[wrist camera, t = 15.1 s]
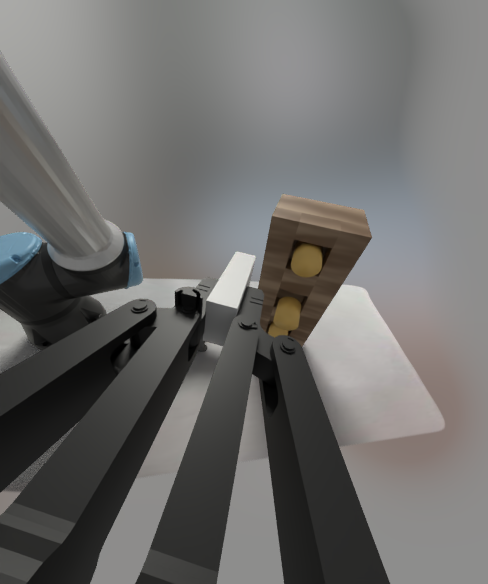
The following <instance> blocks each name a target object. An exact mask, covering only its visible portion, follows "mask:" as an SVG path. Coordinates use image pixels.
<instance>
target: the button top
mask: <svg viewBox="0 0 488 584" xmlns="http://www.w3.org/2000/svg"><path fill="white" fill-rule="evenodd" d="M322 255H323V247H322V246H319V245H315V244H311V243H307V242H302V241H299V242H298V243H297V244H296V246H295V249H294V253H293V257H292V262H291V268H292V270H293V272H294V273H295V274H296V275H298V276H301V277H312V276H315V275H317V274H318V273H319V272H320V270H321V268H322Z"/></svg>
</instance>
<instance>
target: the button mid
mask: <svg viewBox="0 0 488 584" xmlns="http://www.w3.org/2000/svg"><path fill="white" fill-rule="evenodd" d="M300 311H301V303H300V302H299V301H298V300H297V299H295V298H293V297H283V298H281V299H279V301H278V304H277V308H276V312H275V316H274V320H273V322H274V324H275V325H276V326H277V327H278V328H280V329H283V330H288V331H290V330H295V329H296V328H298V325H299V318H300Z"/></svg>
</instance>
